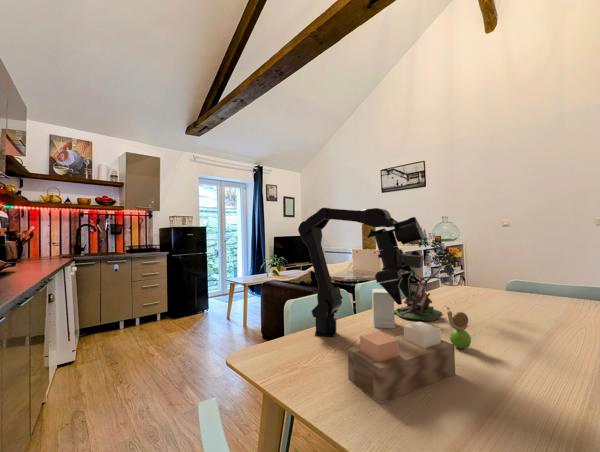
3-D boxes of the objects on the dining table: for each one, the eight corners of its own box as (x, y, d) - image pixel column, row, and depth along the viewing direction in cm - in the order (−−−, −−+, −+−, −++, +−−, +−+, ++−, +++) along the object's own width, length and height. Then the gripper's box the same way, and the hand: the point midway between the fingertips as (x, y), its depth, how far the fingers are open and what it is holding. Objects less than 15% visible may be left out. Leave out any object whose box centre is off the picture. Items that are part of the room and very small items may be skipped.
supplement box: (395, 328, 97) (394, 292, 97) (373, 327, 99) (372, 292, 99) (392, 321, 104) (391, 288, 105) (372, 320, 106) (371, 288, 106)
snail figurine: (442, 344, 83) (441, 304, 83) (462, 343, 84) (461, 304, 84) (454, 352, 78) (453, 309, 78) (475, 351, 78) (474, 309, 78)
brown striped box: (380, 403, 55) (379, 368, 56) (348, 378, 65) (347, 349, 65) (455, 373, 66) (454, 344, 66) (418, 356, 76) (417, 330, 76)
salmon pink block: (378, 378, 58) (378, 345, 58) (360, 366, 64) (359, 335, 64) (399, 371, 61) (398, 339, 61) (380, 360, 66) (379, 331, 67)
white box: (424, 362, 65) (423, 333, 65) (404, 352, 70) (403, 325, 70) (441, 357, 67) (440, 328, 68) (420, 348, 73) (419, 321, 73)
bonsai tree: (444, 334, 91) (441, 239, 92) (380, 317, 109) (378, 238, 110) (478, 312, 114) (476, 236, 115) (420, 301, 132) (419, 236, 133)
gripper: (407, 243, 70) (427, 304, 67) (422, 240, 86) (438, 290, 83) (367, 253, 76) (384, 310, 73) (387, 249, 91) (401, 295, 89)
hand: (404, 300), depth 79 cm, fingers open, 9 cm apart
